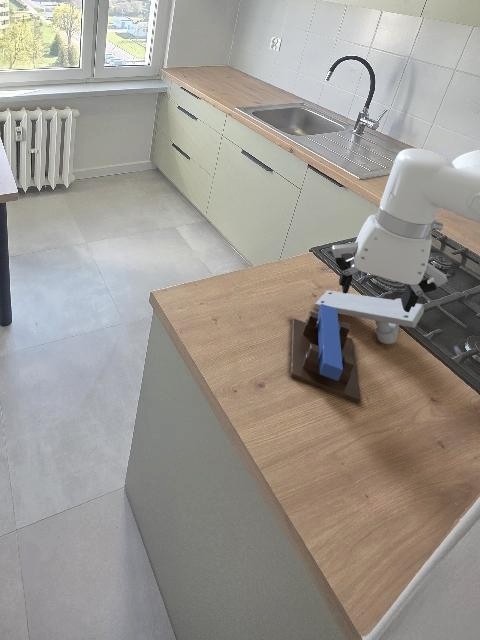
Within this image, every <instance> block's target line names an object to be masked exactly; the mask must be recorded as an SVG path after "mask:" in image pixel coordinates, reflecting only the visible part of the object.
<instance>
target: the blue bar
mask: <svg viewBox="0 0 480 640" xmlns="http://www.w3.org/2000/svg"><path fill="white" fill-rule="evenodd" d="M317 313H318V321H317V323H318V341H319V352H320V353H319V366H320V374H321V375H323V376H326V377H329V378H331V379H334V380H337V381H339V378H340V376H341V373H342V371H343V365H342V355H341V345H340V334H339V325H340V323H339V316H338V314H339V313H337V309H336V308H333V307H330V306H327V305H324V304H321V305H320V308H319V310H318V311H317Z"/></svg>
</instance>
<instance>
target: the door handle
mask: <svg viewBox="0 0 480 640" xmlns="http://www.w3.org/2000/svg"><path fill="white" fill-rule="evenodd" d="M321 304H324V305H327V306H330V307H333V308H336V309H337V313H338V314H339V315H344V316H348V317H349V316H350V317H354V318H361V319H365V320H371V321H374V322H375V324H376V328H375V333H376V337H377V339H378V341H379V342H380V343H382V344H386V345H390V344H394V343H395V342H397V338H398V334H399V330H400V326H402V327H407V328H414V329H415V328H416V327H417V325H418V323H419V321H420V320H421V318H422V316H423V314H424V313H425V308H424V304H423V303H417V302H416V305H415V307H413V306H412V307H411V309H410V311H409V312H405V310H404V309H403V306H402V302H401V298H399V297H398V298H395V299H391V298H381V297H377V296H368V295H363V294H356V293H350V292H348V293H346V294H345V293H343V291H335V290H328V289H327V290H326V291H325V292H324V293H323V294H322V295H321V296H320V297H319V298H318V299H317V301H316V302H315V303H314V307H315V308H316V309H317V310H318V311H319V308H320V305H321Z"/></svg>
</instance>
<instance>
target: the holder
mask: <svg viewBox="0 0 480 640" xmlns="http://www.w3.org/2000/svg"><path fill="white" fill-rule="evenodd" d="M291 323H292V325H291V358H290V359H291V360H290V377H292V378H294V379H296V380H299V381H302V382H304V383H307V384H310V385H312V386H314V387H317V388H320V389H321V390H325V391H327V392H330V393H332V394H335V395H337V396H340V397H343V398H345V399H348V400H350V401H353V402H356V403H359V402H360V400H361V399H360V398H361V397H360V390H359V381H358V375H357V374H358V373H357V366H356V358H355V349H354V342H353V341H354V340H353V338H352V337H350V336H348V335H349V333H350V331H351V330H350V329H351V328H350V324H349V322H345V321H340V322H339V334H340V345H341V355H342V365H343V371H342V373H341V376H340V378H339V381H337V380H334V379H331V378H329V377H326V376H323V375H321V374H320V366H319V353H320V352H319V341H318V312H314V311H311V310H310V311H309V313H308V315H307V319H305V321H302V320H299V319H296V318H292V322H291Z"/></svg>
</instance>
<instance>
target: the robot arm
mask: <svg viewBox="0 0 480 640" xmlns="http://www.w3.org/2000/svg"><path fill="white" fill-rule="evenodd" d="M440 208H441V209H444V210H446V211H448V212H451V213H453V214H455V215H457V216H459V217H462V218H463V219H467V220H469V221H472V222H474V223H475V222H476V223H480V149H476V150H472V151H469V152H466V153H465V152H464V153H463V154H461V155H459V156H457V157H456V158H455V159H453V160H452V161H451V160H450V159H449V158H448V157H447V156H445V155H443V154H441V153H438V152H436V151H432V150H428V149H423V148H417V147H416V148H415V147H414V148H412V147H411V148H405V149H402V150H400V151H399V152H398V153H397V155H396V157H395V159H394V161H393V165H392V167H391V170H390V173H389V176H388V179H387V182H386V185H385V187H384V190H383V193H382V196H381V199H380V201H379V205H378V208H377V211H376V213H375V214H374V213H373V214H370V215H369V216H368V217H367V219H366V220H365V222H364V223H363V225H362V227H361V229H360V231H359V233H358V235H357V237H356V239H355V241H354V242H351V243H343V244H333V245H331V253H332V255H333V258H334V261H335V264H336V265H337V267H338V268H339V269H340V270H341V273H340V275H339V278H338V285H339V286H341V292H343V293H345V294H346V293H349V290H350V287H351V285H352V281H353V274H357V273H358V272H362V273H365V274H369V275H372V276H376V277H380V278H383V279H386V280H390V281H394V282H397V283H402V284H405V285H406V286H405V288H404V290H403V293H402V296H401V298H400V299H401V302H402V306H403V309H404V310H405V312H409V311H410V309H411V307H412V306H413V307H415V305H416V303H417V302H418V300H419V298H420V297H423V296H425V294H426V293H430V292H434V291H436V290H437V288H438V287H441V286H443V285H445V284H446V283H448V281H449V280H448V278H447V276H446V274H445V273H444V272H442V271H441V270H439V269H438V268H437V267H435V266H434V265H432V264H431V263H429V259H430V254H431V249H432V243H433V242H432V241H433V235H432V232H433V231H436V230H437V231H442V230H443V228H444V223H443V222H442V221H438V220H436V217H437V215H438V213H439V210H440ZM346 254H351V256H353V257H349V258H347V259H345V258H344V257H343V255H346ZM425 274H427V275H429V276H430V278H426V279H423V278H424V277H425Z"/></svg>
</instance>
